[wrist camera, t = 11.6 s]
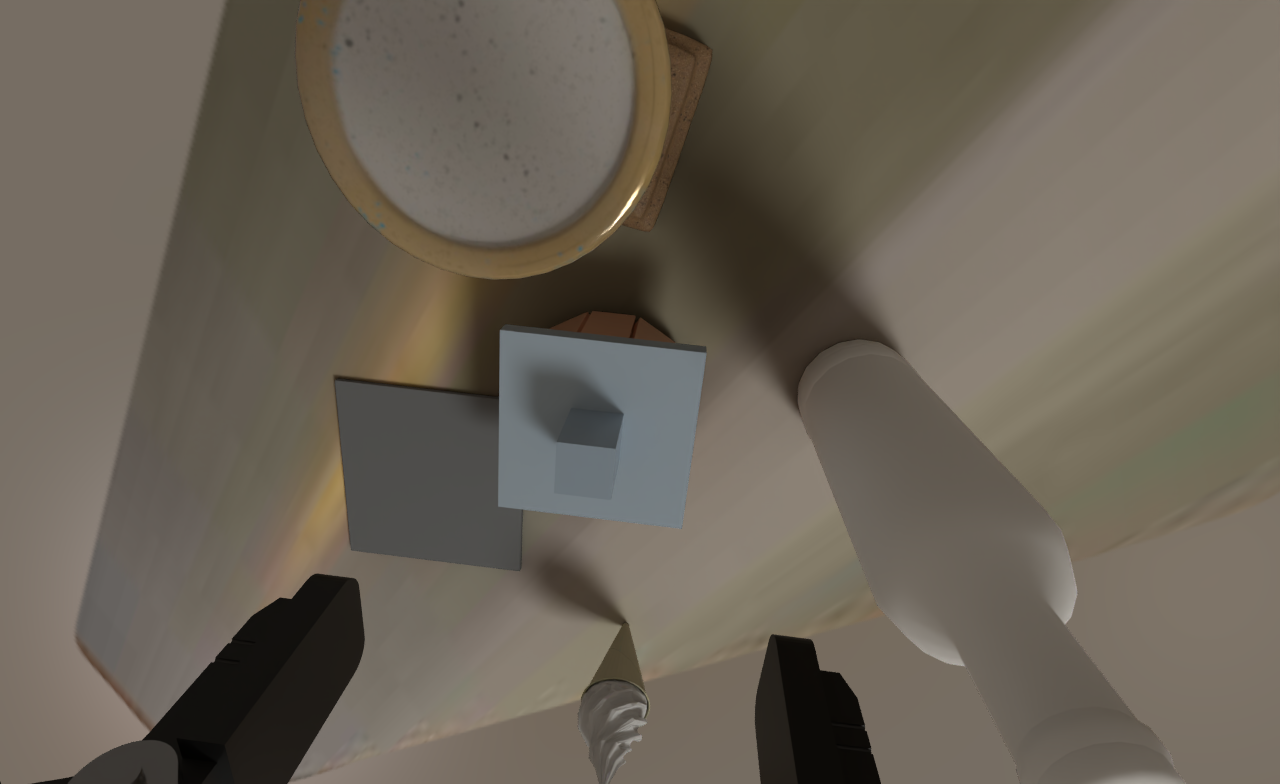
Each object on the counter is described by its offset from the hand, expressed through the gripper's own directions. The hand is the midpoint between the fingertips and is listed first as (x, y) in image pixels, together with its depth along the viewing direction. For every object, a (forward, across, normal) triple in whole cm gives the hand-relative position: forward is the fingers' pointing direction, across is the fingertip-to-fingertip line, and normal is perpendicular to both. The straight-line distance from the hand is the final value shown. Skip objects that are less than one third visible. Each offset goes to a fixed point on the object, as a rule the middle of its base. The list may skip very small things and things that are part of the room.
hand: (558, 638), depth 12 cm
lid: (+26, +2, +9) cm, 28 cm away
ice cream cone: (+32, -1, +30) cm, 44 cm away
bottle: (+33, -15, +7) cm, 36 cm away
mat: (+32, +15, +18) cm, 40 cm away
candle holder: (+33, +4, -9) cm, 34 cm away
